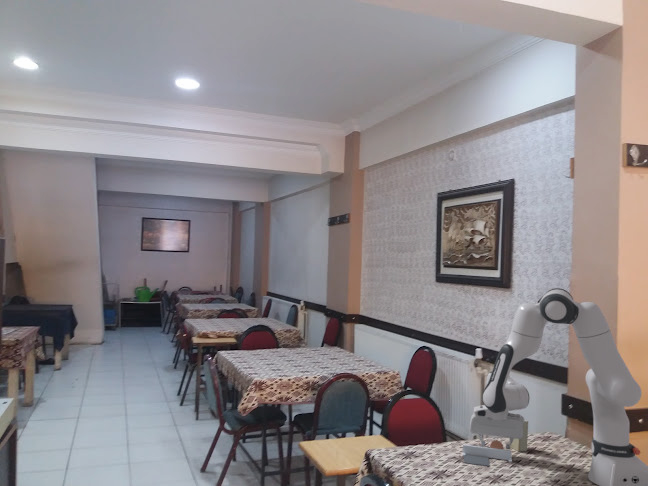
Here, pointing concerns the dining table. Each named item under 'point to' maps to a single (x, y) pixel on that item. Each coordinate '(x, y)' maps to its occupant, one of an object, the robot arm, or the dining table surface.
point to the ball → (496, 444)
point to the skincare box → (521, 443)
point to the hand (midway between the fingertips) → (495, 447)
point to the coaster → (476, 460)
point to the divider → (487, 452)
